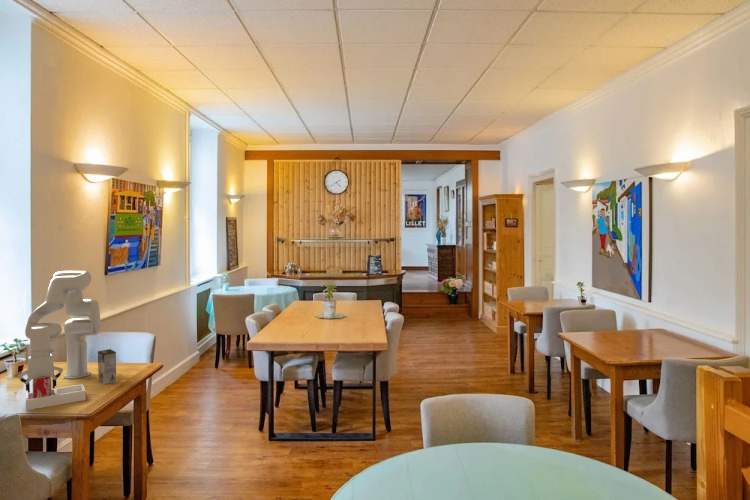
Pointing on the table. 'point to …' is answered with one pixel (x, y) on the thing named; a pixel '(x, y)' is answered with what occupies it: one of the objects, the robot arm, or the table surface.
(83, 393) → the divided tray
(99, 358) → the coffee box
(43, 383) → the soda can
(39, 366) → the robot arm
